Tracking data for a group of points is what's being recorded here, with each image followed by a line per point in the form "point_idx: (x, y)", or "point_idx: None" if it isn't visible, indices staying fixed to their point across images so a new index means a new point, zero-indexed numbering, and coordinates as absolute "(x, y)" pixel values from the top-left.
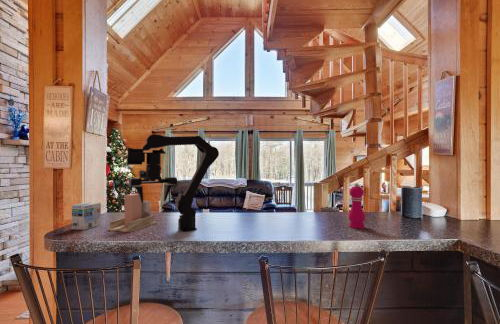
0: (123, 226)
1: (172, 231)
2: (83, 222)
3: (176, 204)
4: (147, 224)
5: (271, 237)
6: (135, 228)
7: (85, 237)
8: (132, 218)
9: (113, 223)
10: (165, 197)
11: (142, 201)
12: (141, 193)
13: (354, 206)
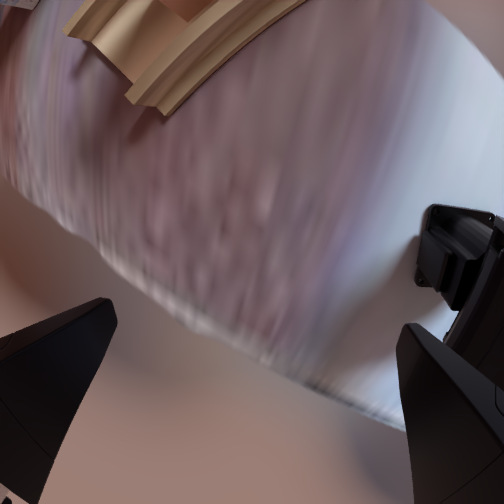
0: (147, 2)
1: (380, 238)
2: (11, 5)
3: (480, 331)
4: (290, 3)
5: None
6: (194, 79)
7: (24, 135)
8: (167, 3)
9: (84, 25)
10: (405, 402)
11: (106, 338)
12: (55, 428)
13: None
